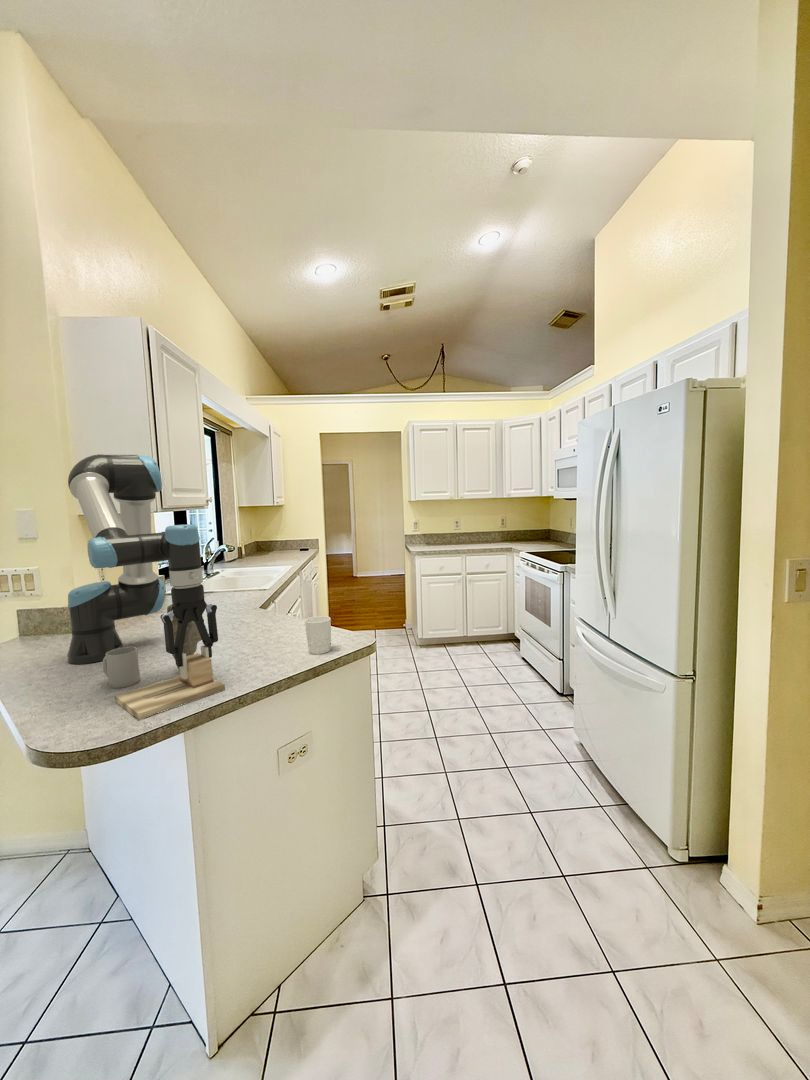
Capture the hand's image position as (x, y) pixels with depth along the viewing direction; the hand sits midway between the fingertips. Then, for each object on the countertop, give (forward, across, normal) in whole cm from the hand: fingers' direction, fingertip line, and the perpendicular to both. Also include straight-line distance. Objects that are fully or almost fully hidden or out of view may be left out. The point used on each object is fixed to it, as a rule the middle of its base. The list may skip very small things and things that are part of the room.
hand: (195, 674), depth 121 cm
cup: (+4, -11, +21) cm, 24 cm away
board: (+3, -6, 0) cm, 7 cm away
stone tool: (+4, +5, +16) cm, 17 cm away
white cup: (+4, +37, -4) cm, 37 cm away
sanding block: (+2, 0, 0) cm, 2 cm away
